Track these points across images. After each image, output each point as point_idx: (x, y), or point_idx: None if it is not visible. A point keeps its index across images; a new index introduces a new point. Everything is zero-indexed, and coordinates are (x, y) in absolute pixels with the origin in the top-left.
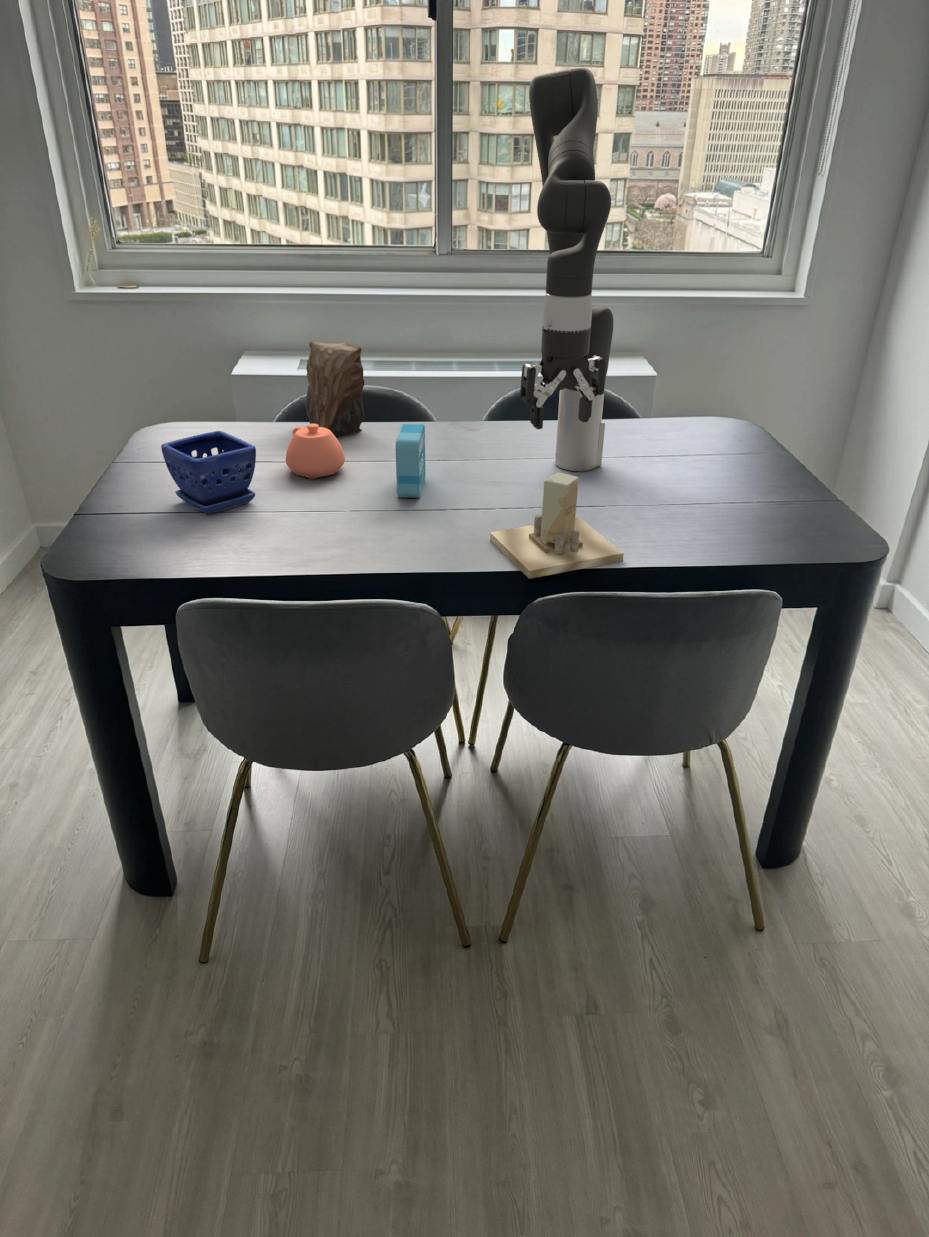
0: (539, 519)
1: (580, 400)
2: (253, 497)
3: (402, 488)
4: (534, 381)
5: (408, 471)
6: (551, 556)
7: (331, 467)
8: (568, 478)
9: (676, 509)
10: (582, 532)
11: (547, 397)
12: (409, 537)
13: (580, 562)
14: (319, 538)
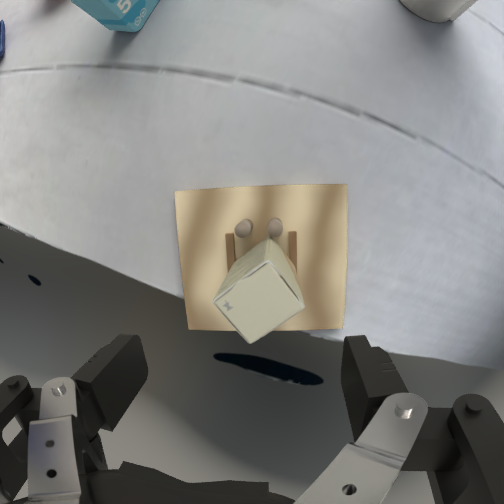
0: (241, 237)
1: (364, 396)
2: (2, 52)
3: (110, 27)
4: (12, 497)
5: (104, 16)
6: None
7: None
8: (274, 312)
9: (491, 196)
10: (323, 243)
11: (107, 467)
12: (84, 153)
13: None
14: (17, 140)
